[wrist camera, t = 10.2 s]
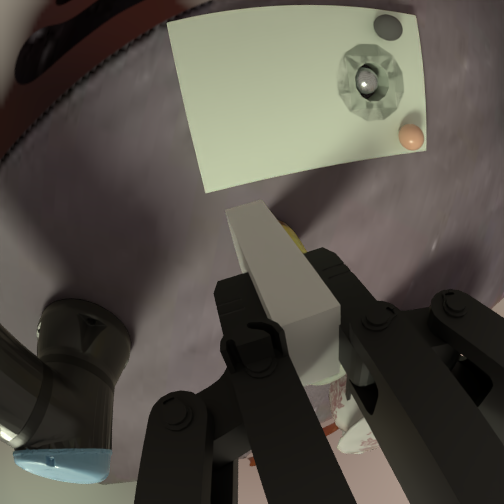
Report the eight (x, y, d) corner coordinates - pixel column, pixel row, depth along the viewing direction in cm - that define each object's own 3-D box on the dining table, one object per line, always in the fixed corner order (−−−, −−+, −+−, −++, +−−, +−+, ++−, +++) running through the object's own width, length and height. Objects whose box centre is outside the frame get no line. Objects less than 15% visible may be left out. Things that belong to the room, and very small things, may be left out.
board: (204, 185, 33) (205, 193, 30) (168, 27, 23) (166, 22, 21) (414, 145, 35) (426, 150, 33) (403, 17, 25) (415, 15, 23)
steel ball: (380, 99, 28) (376, 87, 30) (380, 74, 25) (375, 63, 27) (352, 98, 29) (349, 86, 30) (351, 73, 26) (348, 63, 28)
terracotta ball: (393, 147, 32) (409, 155, 29) (392, 122, 30) (409, 127, 27) (412, 145, 32) (429, 152, 29) (412, 120, 30) (429, 126, 28)
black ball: (370, 40, 25) (387, 39, 22) (365, 14, 23) (382, 11, 20) (393, 42, 25) (410, 41, 22) (388, 17, 23) (406, 14, 20)
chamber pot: (415, 274, 48) (488, 356, 30) (427, 344, 62) (471, 406, 45) (281, 360, 51) (319, 464, 34) (330, 405, 66) (361, 475, 48)
